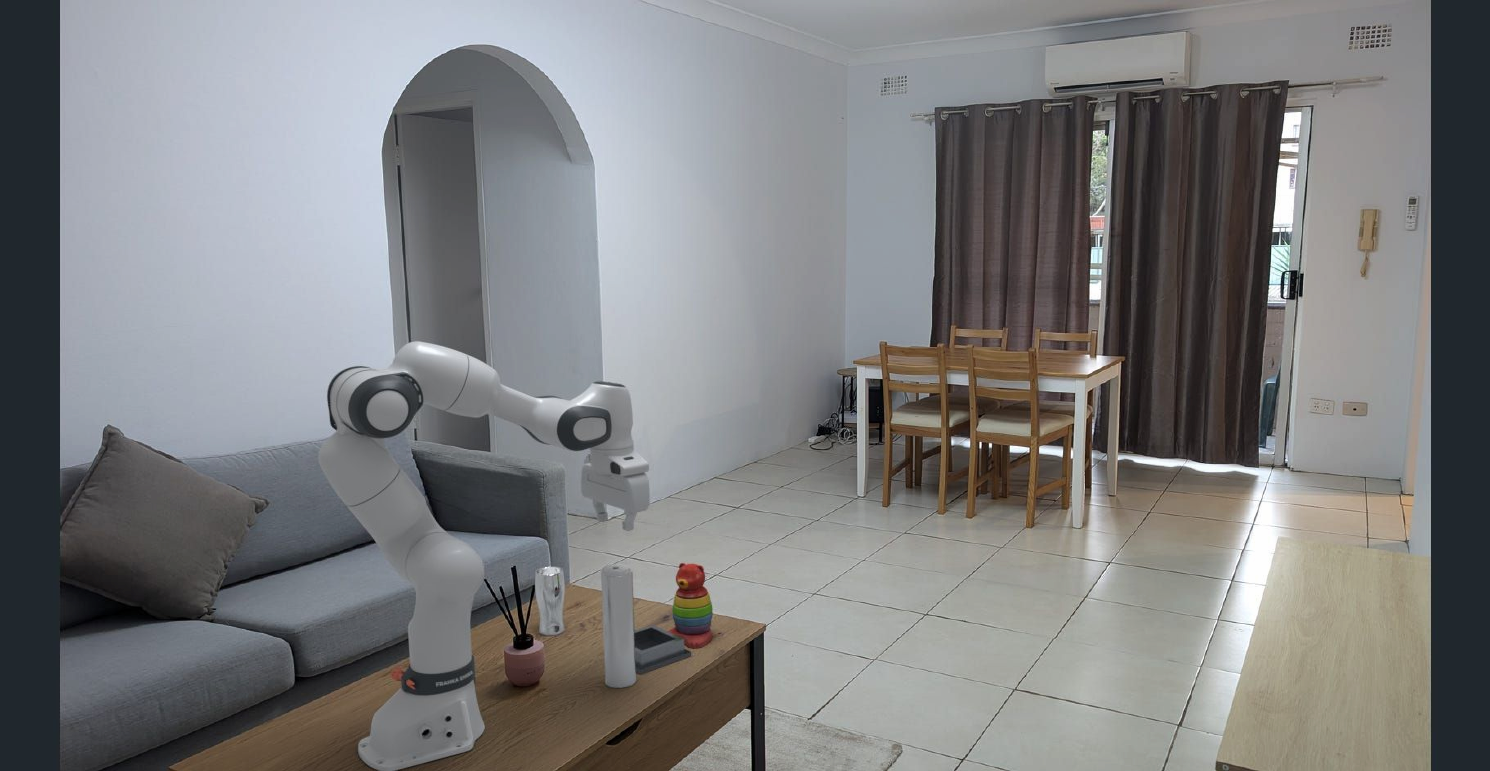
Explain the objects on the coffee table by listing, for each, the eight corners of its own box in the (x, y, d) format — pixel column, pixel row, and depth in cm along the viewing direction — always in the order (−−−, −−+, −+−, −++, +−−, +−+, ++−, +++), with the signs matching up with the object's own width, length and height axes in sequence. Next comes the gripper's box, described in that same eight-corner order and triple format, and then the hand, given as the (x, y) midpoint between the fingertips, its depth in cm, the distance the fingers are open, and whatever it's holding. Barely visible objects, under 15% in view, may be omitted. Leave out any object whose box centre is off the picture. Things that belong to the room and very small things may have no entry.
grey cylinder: (630, 689, 201) (626, 572, 198) (600, 687, 202) (596, 571, 199) (640, 676, 207) (636, 562, 204) (611, 673, 208) (607, 561, 205)
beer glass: (535, 627, 236) (533, 568, 234) (564, 624, 238) (562, 564, 236) (538, 638, 229) (535, 576, 227) (568, 634, 231) (565, 573, 229)
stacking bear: (660, 640, 227) (658, 566, 224) (687, 626, 235) (685, 555, 232) (697, 650, 220) (695, 574, 218) (723, 635, 229) (721, 562, 226)
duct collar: (640, 674, 208) (639, 656, 207) (603, 655, 218) (603, 638, 218) (691, 656, 217) (690, 639, 217) (654, 638, 227) (653, 622, 227)
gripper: (572, 454, 204) (575, 518, 206) (627, 469, 189) (630, 538, 191) (597, 450, 208) (600, 513, 210) (654, 464, 193) (656, 532, 195)
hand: (615, 525), depth 200 cm, fingers open, 8 cm apart
